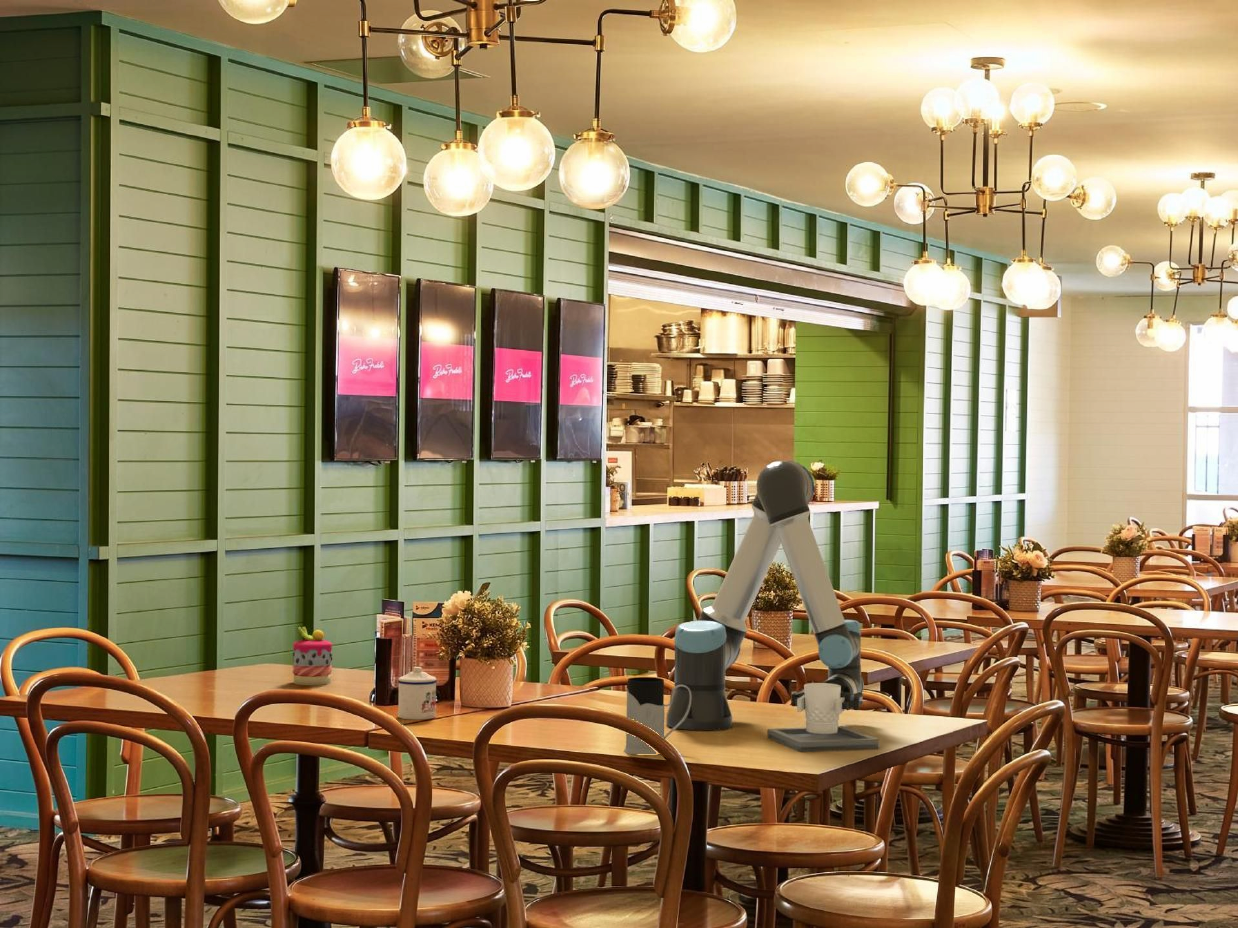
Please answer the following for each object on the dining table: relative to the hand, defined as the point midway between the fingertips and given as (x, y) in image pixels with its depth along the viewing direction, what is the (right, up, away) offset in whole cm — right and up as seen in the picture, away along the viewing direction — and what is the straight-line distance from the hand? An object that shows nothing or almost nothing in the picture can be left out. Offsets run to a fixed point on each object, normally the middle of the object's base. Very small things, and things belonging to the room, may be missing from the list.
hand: (818, 706), depth 338 cm
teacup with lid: (-89, -8, +34) cm, 96 cm away
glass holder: (-34, -8, -8) cm, 36 cm away
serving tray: (+1, -9, +5) cm, 10 cm away
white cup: (+1, -6, +5) cm, 8 cm away
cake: (-125, -8, +90) cm, 155 cm away
